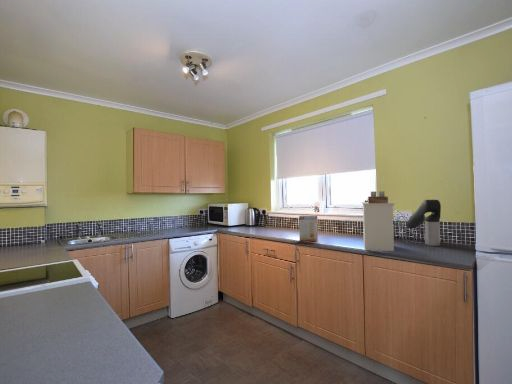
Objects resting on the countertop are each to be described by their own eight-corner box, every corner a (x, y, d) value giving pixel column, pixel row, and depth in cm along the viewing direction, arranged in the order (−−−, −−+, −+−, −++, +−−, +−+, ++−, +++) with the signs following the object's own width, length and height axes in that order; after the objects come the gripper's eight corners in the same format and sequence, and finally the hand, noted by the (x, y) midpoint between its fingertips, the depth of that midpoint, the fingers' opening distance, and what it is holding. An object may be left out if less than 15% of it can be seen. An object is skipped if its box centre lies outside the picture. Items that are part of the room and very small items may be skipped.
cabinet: (362, 243, 212) (362, 202, 212) (390, 244, 206) (389, 201, 206) (364, 249, 189) (363, 203, 189) (394, 251, 183) (394, 203, 183)
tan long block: (366, 201, 221) (366, 191, 221) (382, 201, 217) (382, 191, 217) (368, 203, 189) (368, 191, 189) (388, 203, 185) (387, 191, 185)
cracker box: (318, 240, 227) (317, 215, 227) (315, 241, 222) (315, 216, 222) (302, 239, 235) (301, 214, 235) (299, 240, 230) (298, 215, 230)
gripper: (381, 211, 237) (383, 205, 223) (363, 210, 242) (364, 203, 228) (381, 203, 240) (383, 196, 226) (364, 202, 245) (365, 195, 231)
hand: (374, 200), depth 227 cm, fingers open, 8 cm apart
